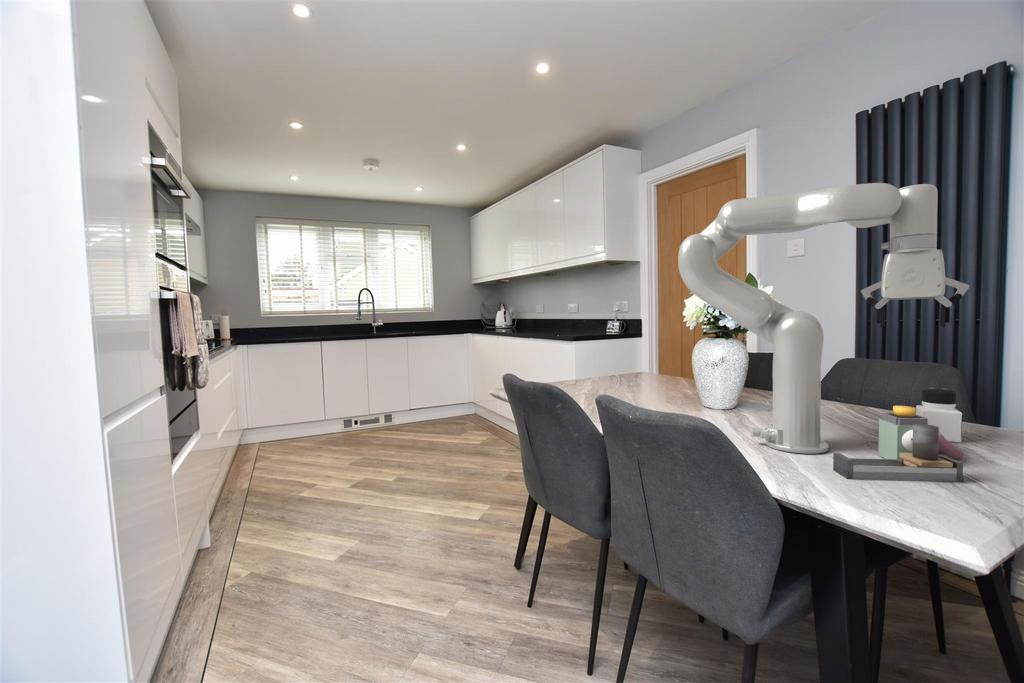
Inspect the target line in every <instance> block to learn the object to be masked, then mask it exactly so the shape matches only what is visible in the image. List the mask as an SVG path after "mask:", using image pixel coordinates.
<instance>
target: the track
mask: <svg viewBox="0 0 1024 683" xmlns="http://www.w3.org/2000/svg"><path fill="white" fill-rule="evenodd" d="M938 457H939V458H941V459H944V460H946V461H949V462H951V463H953V467H909V466H907V465H905V464H903V463H904V460H905V459H884V458H873V457H872V458H864V457H863V458H861V457H854V458H853V457H847V456H845V455H844V454H842V453H840V452H833V457H832V458H833V459H832V460H833V461H832V463H833V466H832V467H833V468H832V470H833V471H834V472H836V473H837V474H839V475H840V476H842V477H843V478H846V479H847V480H873V481H874V480H875V481H877V480H879V481H905V482H906V481H909V482H910V481H911V482H915V481H916V482H947V483H948V482H950V483H951V482H954V483H962V482H963V481H964V480H963V479H964V478H963V477H964V462H962V461H960V460H956V459H952V458H950V457H947V456H945V455H944V454H939V455H938Z"/></svg>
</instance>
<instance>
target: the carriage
mask: <svg viewBox="0 0 1024 683" xmlns="http://www.w3.org/2000/svg"><path fill="white" fill-rule="evenodd" d="M938 441H939V427H937V426H933V425H927V424H913V451H912V453H899V457H901V458H903V459H905V460H904V463H903V464H905V465H907V466H909V467H953V463H951V462H949V461H946V460H944V459H941V458H939V457H938Z"/></svg>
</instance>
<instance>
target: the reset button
mask: <svg viewBox="0 0 1024 683" xmlns="http://www.w3.org/2000/svg"><path fill="white" fill-rule="evenodd" d="M892 413H893V414H894V415H897V416H905V417H914V416H916V407H914V406H909V405H893V406H892Z"/></svg>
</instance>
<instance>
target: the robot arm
mask: <svg viewBox="0 0 1024 683" xmlns="http://www.w3.org/2000/svg"><path fill="white" fill-rule="evenodd" d="M938 200H939V199H938V188H937V186H935V185H934V184H930V183H921V184H913V185H912V184H911V185H907V186H903V187H900V188H897V187H896V186H894V185H892V184H890V183H885V182H868V183H859V184H849V185H848V184H847V185H839V186H832V187H828V188H822V189H818V190H817V189H816V190H810V191H803V192H799V193H791V194H783V195H768V196H759V197H758V196H757V197H747V198H737V199H732V200H728V202H726V203H724V205H723V206H722V207H721V208H720V210H719V211H718V214H717V217H715V219H714V220H713V221H711V223H709V225H708V226H707V227H705V228H704V229H703V230H702V231H701V232H700V233H695V234H691V235H689V236H687V237H685V239H684V240H683V241H682V243H681V244H680V246H679V249H678V257H677V262H678V263H677V265H678V271H679V275H680V277H681V280H682V282H683V284H684V285H685V286H686V287H687V289H688V290H689V291H690V292H691V293H692V294H693V295H695V297H697V298H698V299H700V300H702V301H704V303H707V304H708V305H710V306H711V307H713V308H715V309H716V310H718V311H720V312H722V313H723V314H725V315H726V316H728V317H730V318H731V319H732V321H733V322H734V323H735V324H737V325H739V326H740V327H742V328H743V329H746V330H747V331H749V332H751V333H753V334H754V335H756V336H758V337H760V338H762V339H763V340H765V341H767V342H768V343H770V344H772V345H773V355H772V424H771V423H770V424H768V426H767V427H764V428H750V432H749V433H750V436H751V437H758V438H759V437H760V439H764V440H765V441H764V442H765V445H766V446H768V447H770V448H772V449H774V450H778V451H782V452H788V453H796V454H807V455H814V454H822V453H826V452H828V451H829V444H828V443H827V442H826V441H823V440H821V413H822V412H821V408H822V406H821V404H822V402H821V401H822V398H821V397H822V394H821V392H822V388H821V387H822V382H821V380H822V379H821V378H822V377H821V376H822V375H821V373H822V372H821V371H822V370H821V369H822V358H823V357H822V356H823V347H824V339H825V338H824V335H825V334H824V328H823V325H822V324H821V322H820V320H818V318H817V317H815V316H814V315H812V314H811V313H809V312H806V311H798V310H793V309H791V308H790V307H788V306H786V305H785V304H782V303H781V302H779V301H777V300H775V299H773V298H772V296H771V295H770V294H769V293H767V292H766V291H764V290H763V289H759V288H758V287H755V286H753V285H752V284H751V285H750V284H749V283H747V282H745V281H743V280H742V279H739V278H737V277H735V276H734V275H733V274H731V273H729V272H727V271H725V270H724V269H723V268H721V266H720V265H719V264H718V261H719V260H720V259H721V258H722V257H724V256H725V255H726V254H727V253H728V252H729V251H731V250H732V249H733V248H735V247H736V245H738V243H739V242H741V240H743V239H744V238H745V237H746V236H754V235H755V236H756V235H767V234H785V233H786V234H787V233H788V234H789V233H790V234H791V233H797V232H802V231H806V230H808V229H811V228H814V227H815V228H816V227H819V226H822V225H829V224H835V223H837V224H838V223H847V224H849V225H850V226H852V227H854V228H859V229H864V228H872V227H877V226H880V225H881V226H882V225H888V224H889V241H888V242H884V243H881V246H880V248H881V250H886V251H889V253H887V254H885V255H884V258H883V263H882V271H881V280H880V281H878V282H875V283H874V284H871V285H869V286H867V287H864V288H863V289H861V290H860V294H862V296H863V298H864V299H865V300H866V302H867V303H868V304H870V305H871V306H873V308H875V309H876V319H875V320H876V324H880V325H879V326H880V328H884V327H886V322H885V321H886V310H885V307H884V306H885V305H886V304H887V303H888V302H889V301H891V300H892V301H893V300H894V301H897V300H899V301H901V300H924V299H928V300H929V299H935V300H936V301H937V302H938V303H940V304H941V305H940V307H939V314H938V316H939V318H938V319H939V320H938V322H939V325H938V326H939V327H941V328H945V327H946V324H947V323H948V324H949V323H950V321H951V320H950V318H951V317H950V316H951V315H950V313H951V310H950V309H951V307H952V306H954V304H955V303H957V302H958V301H959V300H962V298H963V296H964V295H965V294H966V293H967V291H968V289H969V288H970V285H969V284H967V283H964V282H962V281H959V280H955V279H952V278H950V277H947V276H946V269H945V260H944V254H943V250H942V249H937V245H938V244H937V242H938ZM946 285H947V286H950V287H953V288H955V289H957V291H955V293H954V294H953V295H952V296H950V297H949V298H947V297H945V293H946ZM879 289H880V294H881V297H882V298H881V299H880V300H879V301H877V300H876V299H875V298H873V296H872V294H871V293H872V292H874V291H876V290H879Z"/></svg>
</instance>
